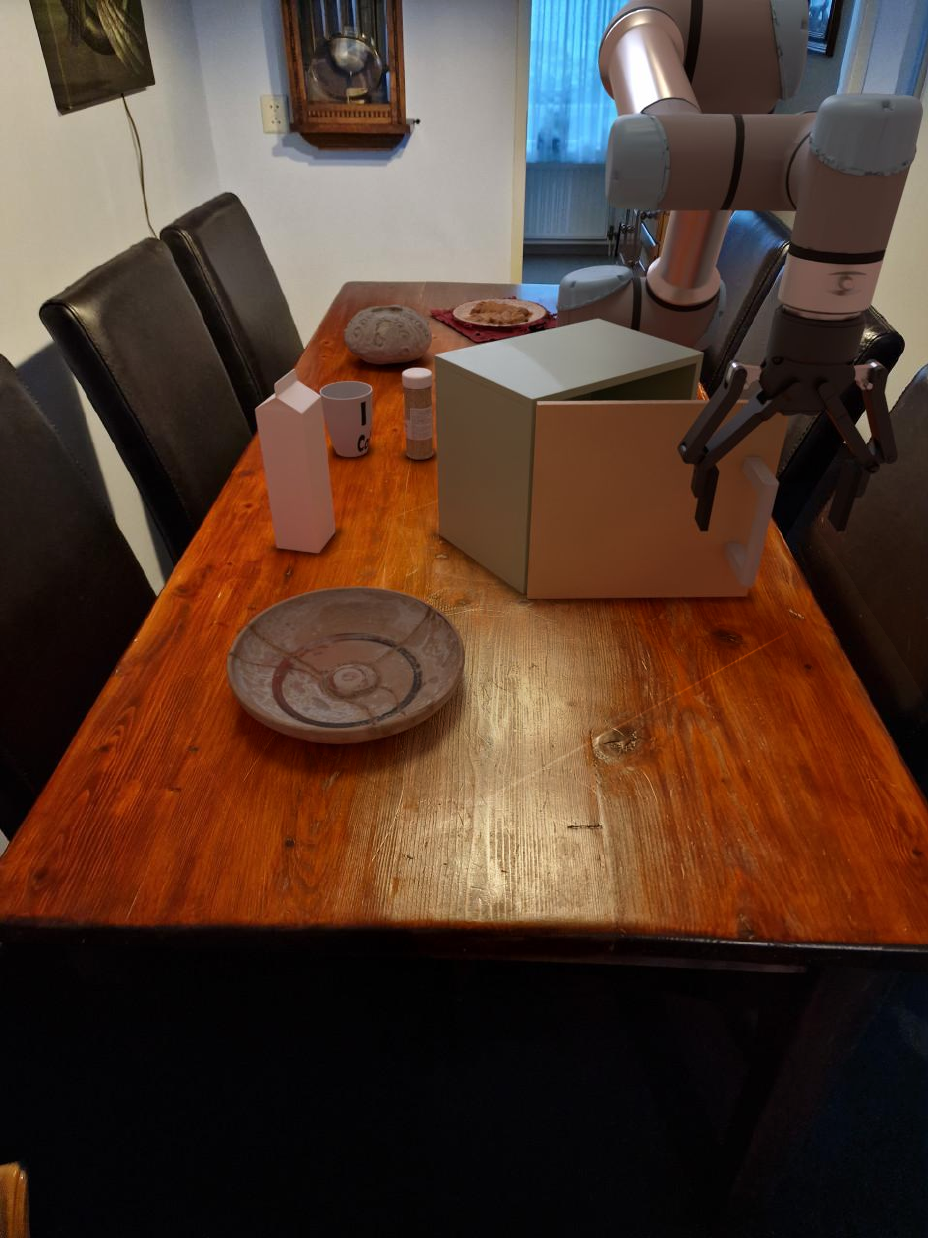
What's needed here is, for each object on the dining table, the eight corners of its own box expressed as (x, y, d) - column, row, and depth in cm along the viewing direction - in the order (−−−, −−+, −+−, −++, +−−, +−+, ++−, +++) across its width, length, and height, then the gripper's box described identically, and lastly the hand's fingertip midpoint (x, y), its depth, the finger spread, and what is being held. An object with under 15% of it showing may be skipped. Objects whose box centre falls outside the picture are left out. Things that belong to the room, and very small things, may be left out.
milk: (276, 548, 106) (248, 382, 93) (295, 526, 111) (271, 365, 98) (320, 554, 105) (297, 386, 92) (337, 531, 110) (318, 369, 97)
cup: (368, 462, 128) (363, 400, 122) (319, 458, 129) (311, 397, 123) (382, 442, 134) (378, 382, 128) (335, 438, 135) (329, 379, 130)
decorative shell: (440, 369, 164) (439, 318, 158) (352, 377, 160) (348, 325, 155) (422, 343, 178) (421, 295, 172) (341, 350, 175) (336, 301, 169)
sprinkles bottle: (406, 449, 132) (403, 366, 124) (434, 449, 132) (432, 366, 124) (404, 461, 128) (400, 376, 120) (433, 461, 128) (431, 376, 120)
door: (765, 630, 91) (818, 428, 77) (532, 633, 91) (544, 430, 77) (744, 592, 97) (789, 398, 84) (526, 594, 97) (536, 401, 83)
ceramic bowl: (262, 802, 71) (253, 761, 68) (216, 651, 88) (207, 613, 85) (503, 728, 78) (504, 688, 75) (416, 602, 96) (414, 566, 93)
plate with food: (514, 304, 206) (514, 289, 204) (569, 327, 186) (569, 311, 184) (428, 317, 197) (427, 302, 195) (476, 342, 178) (476, 326, 176)
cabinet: (674, 532, 109) (704, 352, 96) (523, 595, 97) (532, 399, 83) (583, 484, 121) (598, 318, 107) (438, 534, 109) (434, 354, 95)
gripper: (685, 320, 67) (651, 543, 80) (990, 320, 67) (908, 543, 79) (667, 296, 73) (638, 506, 86) (947, 295, 73) (877, 507, 85)
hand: (768, 525), depth 82 cm, fingers open, 13 cm apart
